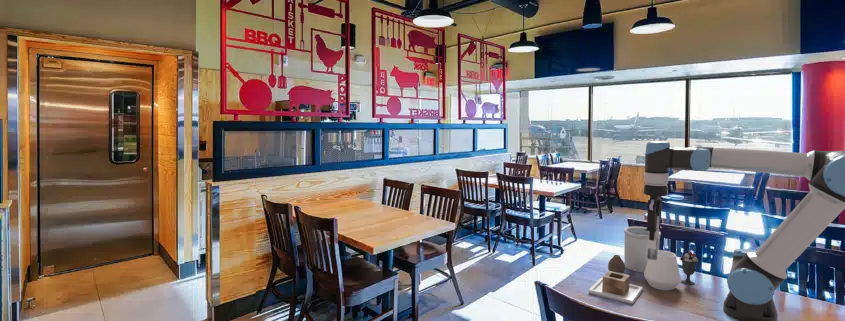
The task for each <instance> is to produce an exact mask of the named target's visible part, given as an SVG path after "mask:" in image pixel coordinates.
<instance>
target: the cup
mask: <svg viewBox="0 0 845 321" xmlns="http://www.w3.org/2000/svg"><path fill="white" fill-rule="evenodd" d="M643 273H644V274H643V276H644V278H645V280H646V281H647V283H648V285H649V286H650V287H651V288H653V289H656V290H661V291H674V290H675V289H676V287H678V285H680V283H682V282H681V281H682V278H681V274H680V273H681V272H680V269H679V264H678V259H677V256H676V253H674V252H672V251H669V250H663V249H659V250H658V255H657V260H651V259H649V260H648V263H647V265H646V268H645V271H644V272H643Z"/></svg>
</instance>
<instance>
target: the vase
mask: <svg viewBox="0 0 845 321" xmlns="http://www.w3.org/2000/svg"><path fill="white" fill-rule="evenodd" d="M607 271H612V272H617V273H621V274H625V271H626V267H625V261H624V260H623V259H622V257H621V255H618V254H614V255H613V256H612V257H611V258H610V260H609V261H608V264H607Z"/></svg>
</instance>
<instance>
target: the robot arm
mask: <svg viewBox="0 0 845 321" xmlns="http://www.w3.org/2000/svg"><path fill="white" fill-rule="evenodd" d="M645 146H646V147H645V153H644V173H643V174H642V177H644V185H643V194H644V195H646V196H648V197H649V199H648V200H647V205H646V207H647V208H646V209H647V214H646V215H647V217H646V219H647V220H646V221H647V222H646V227H647V229H646V231H648V247H647V248H651V249H656V242H657V231H656V227H657V216H659V230H660V229H661V230H662V226H661V225H662V223H661V222H662V206H663V199H661V197H666V196H667V195H668V191H669V189H668V185H667V184H669V174H670V173H669V169H670V170H685V171H695V172H697V171H704V172H705V171H708V170H709V169H710V168H711V169H712V168H713V169H722V170H732V171H743V172H751V173H752V172H753V173H763V174H771V175H772V174H774V175H784V176H793V177H802V178H803V177H804V178H806V179H807V180H808V181H809V182H808V184H807V185H808V188H809V192H808V193H807V194H806V195H805V196H804V197H803V199H801V201H799V203H798V204H797V205H796V207H795V208H793V209H792V210H791V212H790V213H789V214H788V215H787V216H786V217H785V218H784V219H783V221H781V223H780V224H779V225H778V227H776V228H775V229H774V231H773V232H772V233H771V234H770V235H769V236H768V237H767V239H765V241H763V243H762V244H761V245H760V247H758V248H757V250H754V249H747V248H736V249H734V250H733V254H732V255H731V256H732V263H731V264H732V265H731V268H730V270H729V273H728V275H727V277H726V283H727V287H728V291H729V292H728V293H727V295H726V297H725V299H724V301H723V304H722V305H723V306H722V309H723V311H724V313H726V314H727V315H728V316H730V317H732V318H734V319H737V320H739V321H778V316H779V314H778V312H777V308H776V307H777V306H776V305H775V302H774V295H775V291H776V290H777V289H778V288H779V287H780V286H781V285H782V284H783V282H784V281H785V280H787V278H788V275H787V269H788V268H789V267H790V266H791V265H793V263H794V262H795V261H796V260H797V259H798V258H799V257H800V256H801V255H802V254H803V253H804V252H805V251H806V250H807V249H808V248H809V246H810V245H812V244H813V242H814V241H815V240H817V238H818V237H819V236H820V235H821V234H822V233H823V232H824V231H825V230H826V228H828V226H829V225H830V224H831V223H832V222H833V221H835V219H836V218H838V216H839V215H840V214H841V213H842V212H843V211H844V210H845V150H811V151H809V152H806V153H805V152H793V151H792V152H791V151H779V150H776V151H775V150H765V149H750V148H749V149H747V148H732V147H720V146H703V145H699V144H695V145H694V144H693V145H690V146H688V147H672V146H671V143H670V142H669V141H660V140H657V141H648V142H647V143H646V145H645ZM658 245H659V246H660V242H659V234H658Z"/></svg>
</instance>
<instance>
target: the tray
mask: <svg viewBox="0 0 845 321" xmlns="http://www.w3.org/2000/svg"><path fill="white" fill-rule="evenodd" d="M602 285H603V276H602V277H600V278H599V279H598V280H597V281H596V282H595V283H594V284H593V285H592V286H591V287H590V288H589V289H588V294H590V295H594V296H599V297H602V298H605V299H610V300H614V301H617V302H621V303H625V304H629V305H634V303H635V302H636V300H637V299H638V298H639V296H640V295H641V294H642V292H643V289H644V288H643V286H639V285H635V284H632V283H629V291H628V292H627V293H626V294H625V296H620V295H616V294H612V293H608V292H604V291H602Z"/></svg>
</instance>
